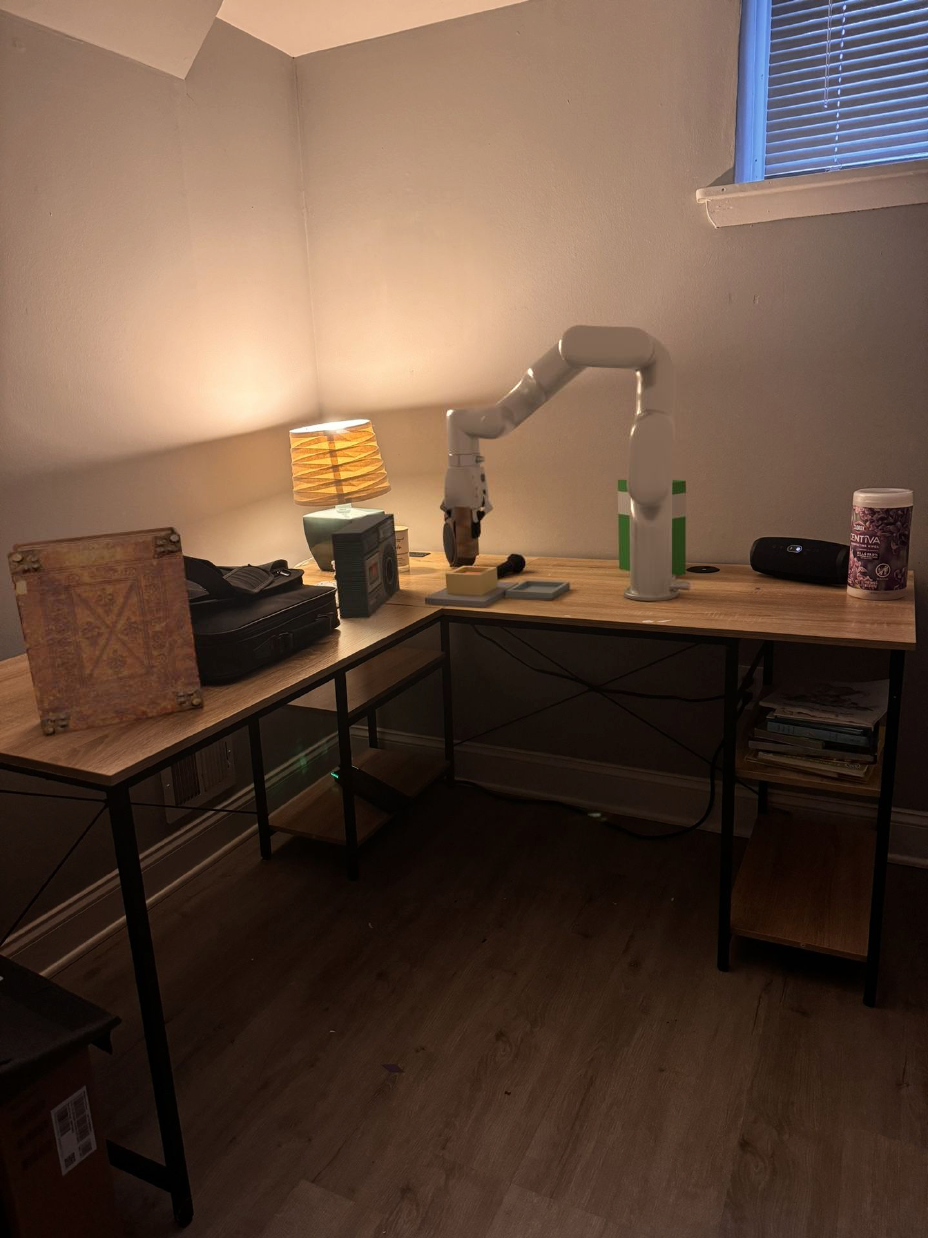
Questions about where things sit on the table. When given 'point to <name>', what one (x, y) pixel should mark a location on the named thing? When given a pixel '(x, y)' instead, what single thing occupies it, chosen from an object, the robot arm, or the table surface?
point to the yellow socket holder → (470, 588)
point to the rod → (465, 533)
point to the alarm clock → (453, 546)
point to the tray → (538, 590)
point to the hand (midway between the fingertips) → (467, 536)
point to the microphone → (511, 565)
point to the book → (106, 628)
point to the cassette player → (365, 565)
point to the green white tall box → (677, 526)
